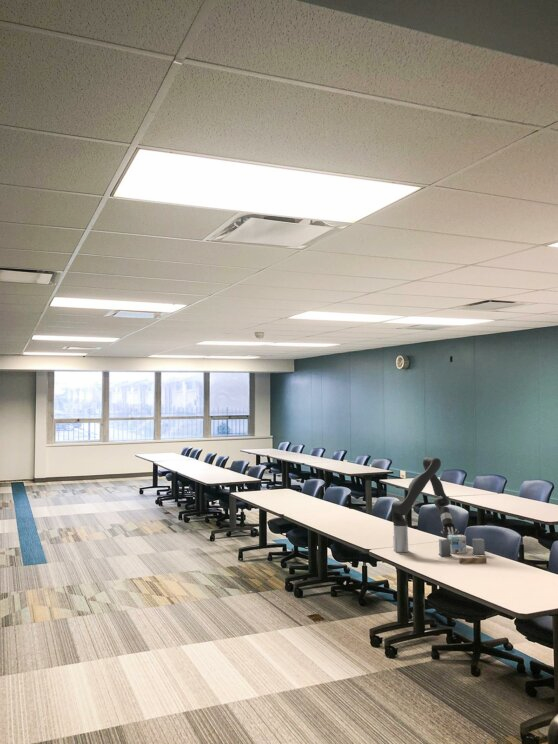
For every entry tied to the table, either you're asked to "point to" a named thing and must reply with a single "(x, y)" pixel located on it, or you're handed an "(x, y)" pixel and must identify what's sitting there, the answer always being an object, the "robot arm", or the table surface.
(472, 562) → the walnut stop
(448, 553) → the block
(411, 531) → the table surface
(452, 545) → the light bulb box
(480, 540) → the block
